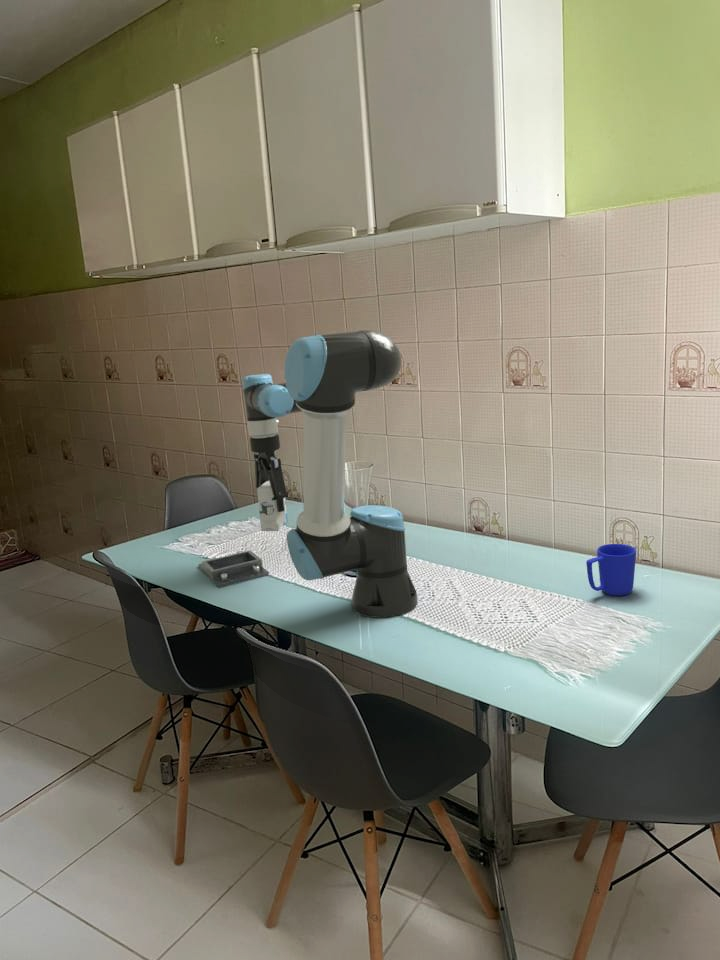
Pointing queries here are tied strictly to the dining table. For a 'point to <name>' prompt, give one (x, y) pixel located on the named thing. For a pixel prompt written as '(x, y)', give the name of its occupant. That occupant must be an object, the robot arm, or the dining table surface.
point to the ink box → (268, 508)
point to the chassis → (233, 568)
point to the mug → (614, 569)
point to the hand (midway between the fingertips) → (274, 519)
